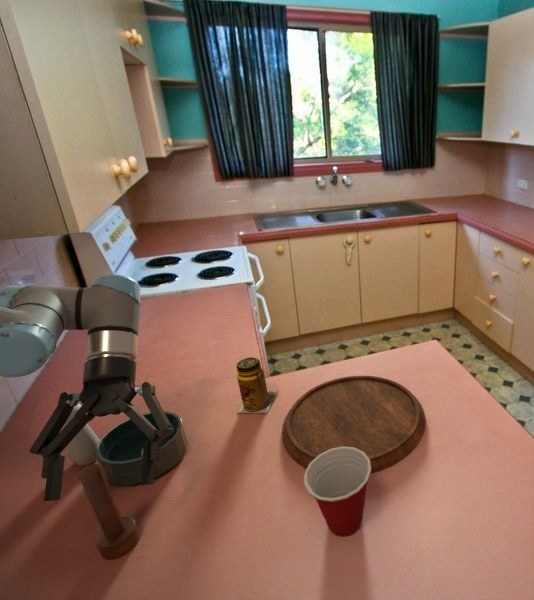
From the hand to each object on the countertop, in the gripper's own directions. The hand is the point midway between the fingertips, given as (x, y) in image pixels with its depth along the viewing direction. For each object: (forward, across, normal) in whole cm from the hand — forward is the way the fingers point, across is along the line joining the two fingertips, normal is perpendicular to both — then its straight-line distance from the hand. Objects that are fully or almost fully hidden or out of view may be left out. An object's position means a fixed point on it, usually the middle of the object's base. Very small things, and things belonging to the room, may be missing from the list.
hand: (100, 492), depth 67 cm
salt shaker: (-8, +14, -24) cm, 28 cm away
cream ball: (-7, +1, -19) cm, 21 cm away
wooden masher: (+8, 0, -7) cm, 11 cm away
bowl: (-6, +2, -21) cm, 22 cm away
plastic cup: (+11, -37, -4) cm, 39 cm away
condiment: (-16, -19, -31) cm, 40 cm away
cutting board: (-7, -41, -22) cm, 47 cm away
